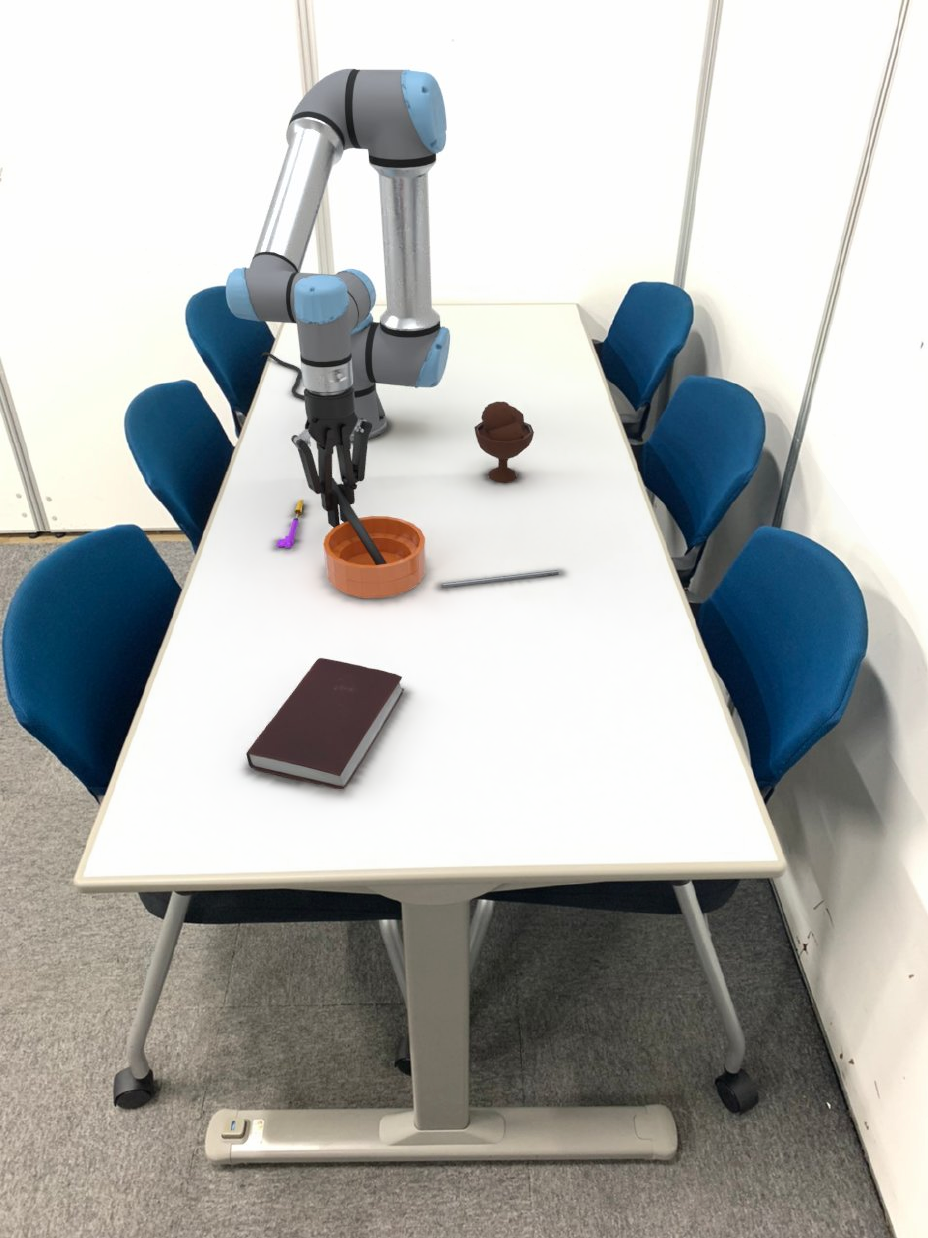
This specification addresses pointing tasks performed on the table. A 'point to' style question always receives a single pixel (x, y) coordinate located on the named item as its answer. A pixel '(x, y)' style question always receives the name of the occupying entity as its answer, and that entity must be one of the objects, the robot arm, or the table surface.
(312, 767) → the book
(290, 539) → the purple gold bent tool
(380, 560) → the stick
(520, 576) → the rod
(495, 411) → the ice cream bowl
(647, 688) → the table surface
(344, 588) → the bowl
